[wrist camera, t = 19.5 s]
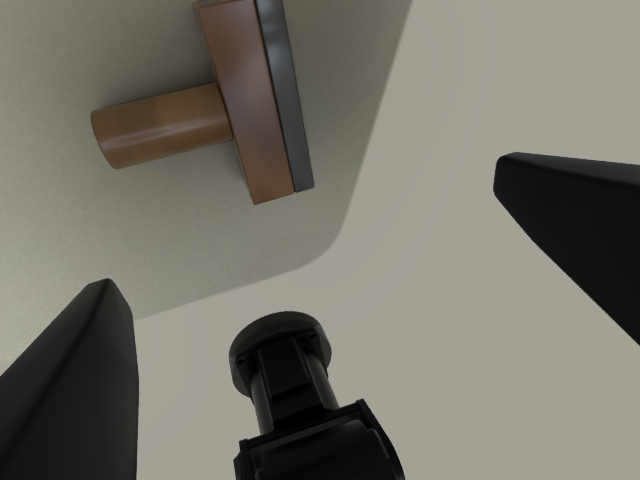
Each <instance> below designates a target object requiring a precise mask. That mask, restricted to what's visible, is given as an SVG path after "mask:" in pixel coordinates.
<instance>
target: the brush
mask: <svg viewBox="0 0 640 480" xmlns="http://www.w3.org/2000/svg"><path fill="white" fill-rule="evenodd" d="M193 8H194V11H195V15H196V18H197V22H198V25H199V28H200V32H201V35H202V39H203V42H204V46H205V49H206V52H207V56H208V59H209V63H210V66H211V70H212V73H213V76H214V80H215V82H214V83H210V84H205V85H201V86H197V87H193V88H188V89H184V90H180V91H175V92H171V93H167V94H163V95H158V96H154V97H150V98H145V99H141V100H137V101H133V102H128V103H124V104H120V105H115V106H111V107H107V108H103V109H98V110H94V111H92V112H91V124H92V128H93V132H94V135H95V137H96V140H97V142H98V145H99V147H100V149H101V151H102V153H103V155H104V156H105V158H106V160H107V161H108V163H109V164H110V165H111V166H112V167H113V168H114V169H117V170H118V169H122V168H125V167H129V166H133V165H137V164H141V163H145V162H148V161H152V160H156V159H160V158H164V157H168V156H171V155H175V154H179V153H183V152H187V151H190V150H194V149H198V148H202V147H206V146H210V145H213V144H217V143H221V142H225V141H229V140H232V141H233V145H234V148H235V152H236V155H237V158H238V162H239V165H240V169H241V172H242V176H243V179H244V181H245V184H246V186H247V189H248V191H249V194H250V196H251V199H252V201H253V204H254V205H257V204H260V203H263V202H267V201H270V200H274V199H277V198H280V197H284V196H287V195H291V194H294V192H296V193H297V192H301V191H304V190H308V189H311V188H314V186H315V185H314V179H313V173H312V168H311V162H310V156H309V150H308V145H307V139H306V133H305V127H304V122H303V116H302V110H301V104H300V99H299V93H298V87H297V81H296V76H295V70H294V64H293V58H292V53H291V47H290V41H289V35H288V30H287V24H286V18H285V12H284V6H283V1H282V0H202V1H197V2H194V3H193Z"/></svg>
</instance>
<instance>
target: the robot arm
mask: <svg viewBox="0 0 640 480" xmlns="http://www.w3.org/2000/svg"><path fill="white" fill-rule="evenodd" d="M493 191H494V194H495V196H496V198H497V199H498V200H499V201H500V203H501V204H502V205H503V206H504V207H505V209H506V210H507V211H508V212H509V213H510V215H511V216H512V217H513V218H514V219H515V221H516V222H517V223H518V224H519V225H520V227H521V228H522V229H523V230H524V231H525V233H526V234H527V235H528V236H529V237H530V238H531V240H532V241H533V242H534V243H535V244H536V245H537V246H538V247H539V248H540V249H541V250H542V251H543V252H544V253H545V254H546V255H547V256H548V257H549V258H551V260H552V261H553V262H554V263H556V264H557V265H558V266H559V267H560V268H561V269H562V270H563V271H564V272H565V273H566V274H567V275H568V276H569V277H570V278H571V279H572V280H573V281H574V282H575V283H576V284H577V285H578V286H579V287H580V288H581V289H582V290H583V291H584V292H585V293H586V294H587V295H588V296H589V297H590V298H591V299H593V301H594V302H595V303H597V305H599V306H600V307H601V308H602V309H603V310H604V311H605V312H606V313H607V314H608V315H609V316H610V317H611V318H612V319H613V320H614V321H615V322H616V323H617V324H618V325H619V326H620V327H621V328H622V329H623V330H624V331H625V332H626V333H627V334H628V335H629V336H630V337H631V338H632V339H633V340H634V341H635V342H636V343H637V344H638V345H639V346H640V165H635V164H625V163H616V162H615V163H614V162H606V161H596V160H587V159H578V158H568V157H559V156H549V155H540V154H530V153H521V152H514V153H510V154H507V155H504V156H501V157H500V158H499V159H498V161H497V163H496V170H495V177H494V185H493ZM133 326H134V325H133V316H132V312H131V309H130V307H129V305H128V303H127V302H126V300H125V299H124V297H123V295H122V294H121V292H120V291H119V289H118V287H117V286H116V284H115V283H114V282H113V281H112V280H111V279H109V278H106V279H102V280H99V281H96V282H93V283H90V284H88V285H87V286H86V287H85V288H84V289H83V290H82V291H81V292H80V293H79V294H78V295H77V296H76V297H75V298H74V299H73V300H72V301H71V302H70V303H69V305H68V306H67V307H66V308H65V309H64V310H63V311H62V312H61V313H60V314H59V315H58V316H57V317H56V318H55V319H54V320H53V321H52V322H51V324H50V325H49V326H48V327H47V328H46V329H45V330H44V331H43V332H42V333H41V334H40V335H39V336H38V337H37V338H36V339H35V340H34V341H33V343H32V344H31V345H30V346H29V347H28V348H27V349H26V350H25V351H24V352H23V353H22V354H21V355H20V356H19V357H18V358H17V359H16V361H15V362H14V363H13V364H12V365H11V366H10V367H9V368H8V369H7V370H6V371H5V372H4V373H3V374H2V375H1V376H0V480H136V472H137V440H138V405H139V375H138V364H137V354H136V345H135V336H134V327H133ZM234 360H235V365H236V367H237V369H238V372H239V374H240V376H241V378H242V380H243V383H244V385H245V387H246V389H247V392H248V394H249V396H250V398H251V400H252V403H253V405H254V406H255V410H256V415H257V420H258V425H259V429H260V434H261V435H260V436H257V437H255V438H251V439H244V440H241V441H239V446H240V452H239V454H238V456H237V457H236V458H235V459H234V460H233V461H234V467H235V475H236V480H405V476H404V472H403V469H402V466H401V463H400V461H399V458H398V456H397V454H396V451H395V449H394V447H393V445H392V443H391V441H390V440H389V438H388V436H387V435H386V433H385V432H384V430H383V429H382V427H381V425H380V424H379V423H378V421H377V419H376V418H375V416H374V415H373V413H372V412H371V410H370V408H369V407H368V405H367V404H366V402H365V401H364V399H360V400H357V401H356V402H355V403H353V404H350V405H347V406H344V407H341V408H340V407H339V405H338V402H337V400H336V398H335V395H334V393H333V390H332V388H331V385H330V383H329V381H328V373H327V368H326V364H325V359H324V355H323V350H322V346H321V342H320V337H319V333H318V331H317V329H316V328H314V327H312V328H308V329H305V330H303V331H300V332H297V333H294V334H292V335H289V336H286V337H283V338H281V339H278V340H275V341H272V342H269V343H267V344H264V345H261V346H258V347H256V348H253V349H250V350H247V351H245V352H242V353H239V354H237V355H236V356H235V358H234Z"/></svg>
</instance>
